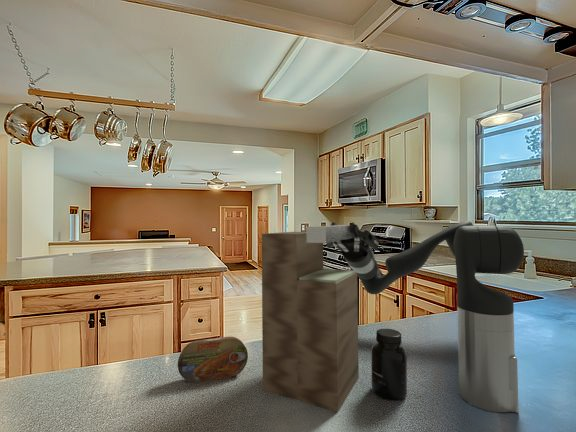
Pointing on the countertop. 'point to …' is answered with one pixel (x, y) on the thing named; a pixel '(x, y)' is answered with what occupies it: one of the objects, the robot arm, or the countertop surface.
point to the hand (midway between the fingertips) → (341, 225)
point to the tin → (212, 359)
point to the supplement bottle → (389, 365)
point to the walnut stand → (307, 323)
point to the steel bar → (328, 233)
